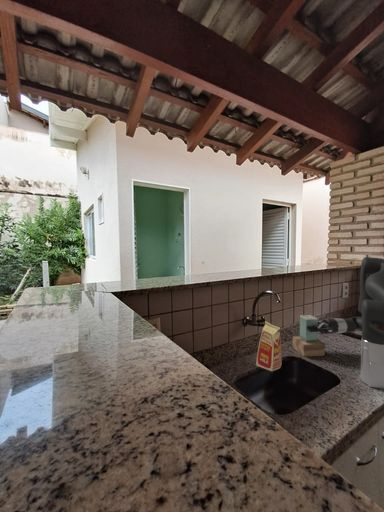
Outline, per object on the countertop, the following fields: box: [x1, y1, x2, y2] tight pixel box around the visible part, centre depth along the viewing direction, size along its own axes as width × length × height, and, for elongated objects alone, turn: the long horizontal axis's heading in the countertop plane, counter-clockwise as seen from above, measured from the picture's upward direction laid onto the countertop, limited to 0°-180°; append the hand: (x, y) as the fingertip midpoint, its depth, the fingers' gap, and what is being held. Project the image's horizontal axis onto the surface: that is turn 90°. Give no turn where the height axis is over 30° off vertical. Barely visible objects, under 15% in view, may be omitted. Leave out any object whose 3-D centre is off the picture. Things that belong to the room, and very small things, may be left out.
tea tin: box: [299, 314, 319, 342], centre depth 123 cm, size 6×6×12 cm
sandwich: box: [292, 335, 326, 357], centre depth 123 cm, size 11×11×6 cm
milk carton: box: [255, 321, 283, 372], centre depth 109 cm, size 9×9×20 cm
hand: (304, 326), depth 123 cm, fingers open, 8 cm apart
